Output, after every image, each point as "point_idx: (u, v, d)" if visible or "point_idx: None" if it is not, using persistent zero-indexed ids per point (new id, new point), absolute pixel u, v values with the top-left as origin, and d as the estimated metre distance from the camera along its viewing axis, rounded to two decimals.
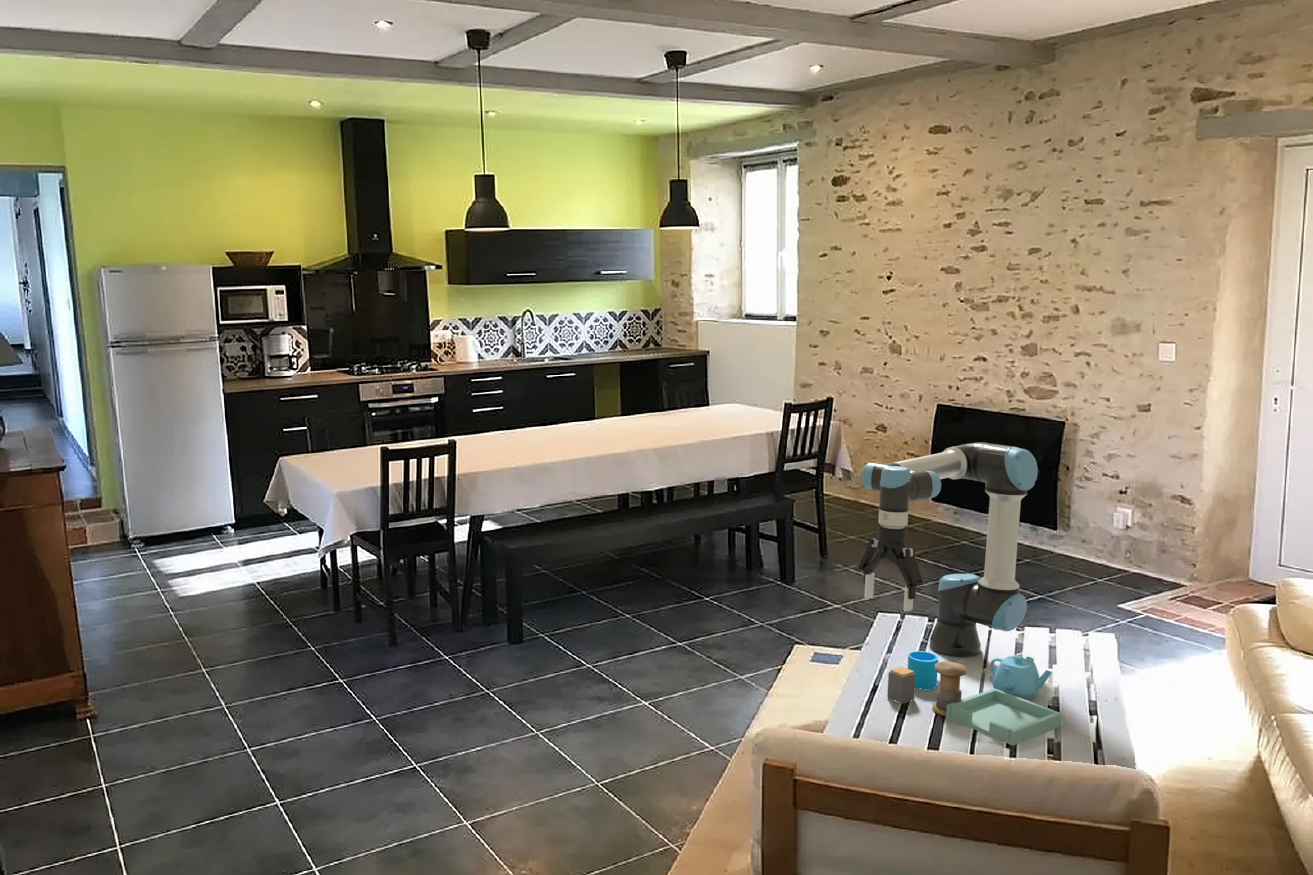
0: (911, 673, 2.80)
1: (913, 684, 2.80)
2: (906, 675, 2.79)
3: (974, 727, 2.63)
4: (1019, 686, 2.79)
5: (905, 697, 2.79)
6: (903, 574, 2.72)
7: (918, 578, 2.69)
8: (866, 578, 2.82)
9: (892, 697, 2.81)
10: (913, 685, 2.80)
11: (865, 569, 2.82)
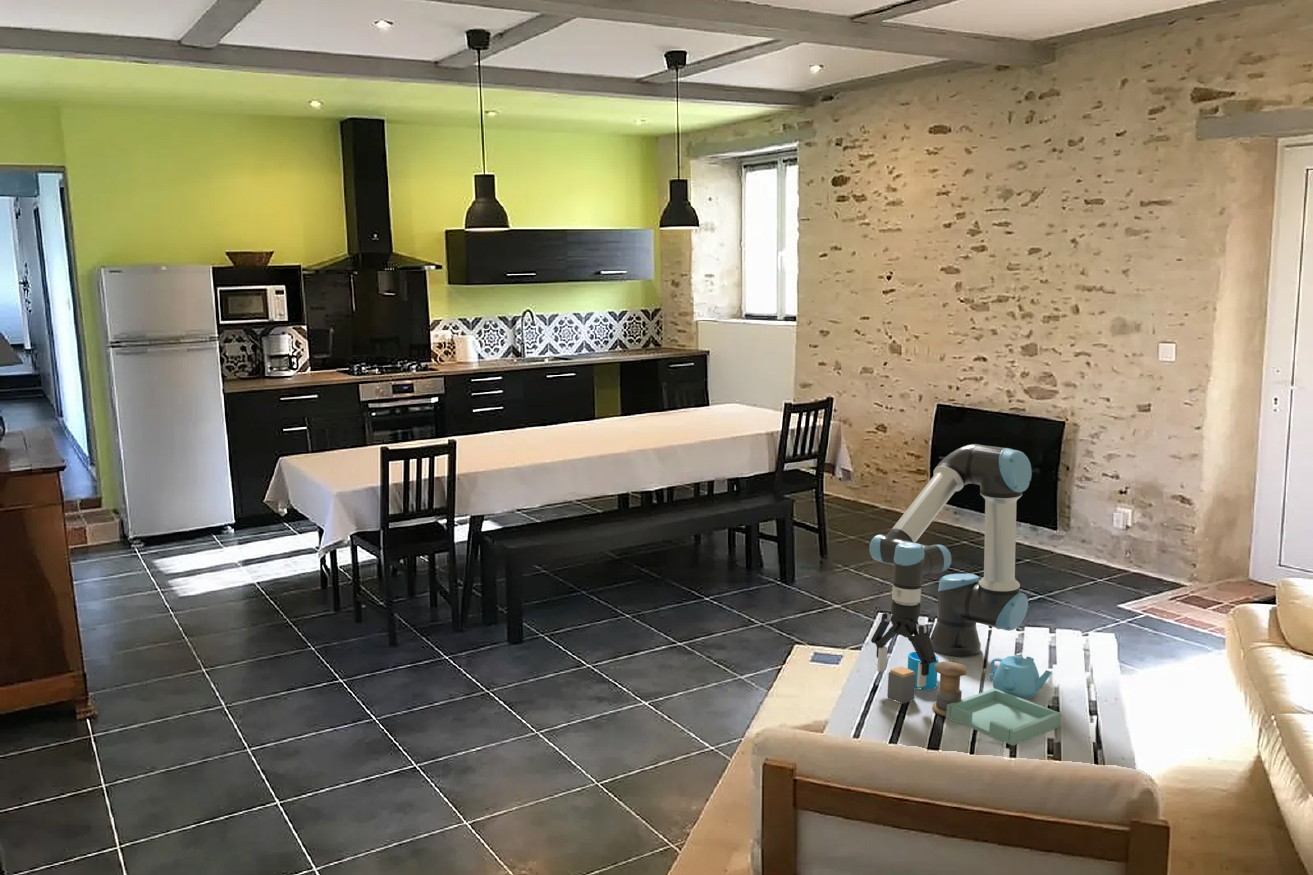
0: (911, 673, 2.80)
1: (913, 684, 2.80)
2: (906, 675, 2.79)
3: (974, 727, 2.63)
4: (1019, 686, 2.79)
5: (905, 697, 2.79)
6: (916, 650, 2.74)
7: (932, 655, 2.72)
8: (879, 652, 2.85)
9: (892, 697, 2.81)
10: (913, 685, 2.80)
11: (878, 643, 2.85)
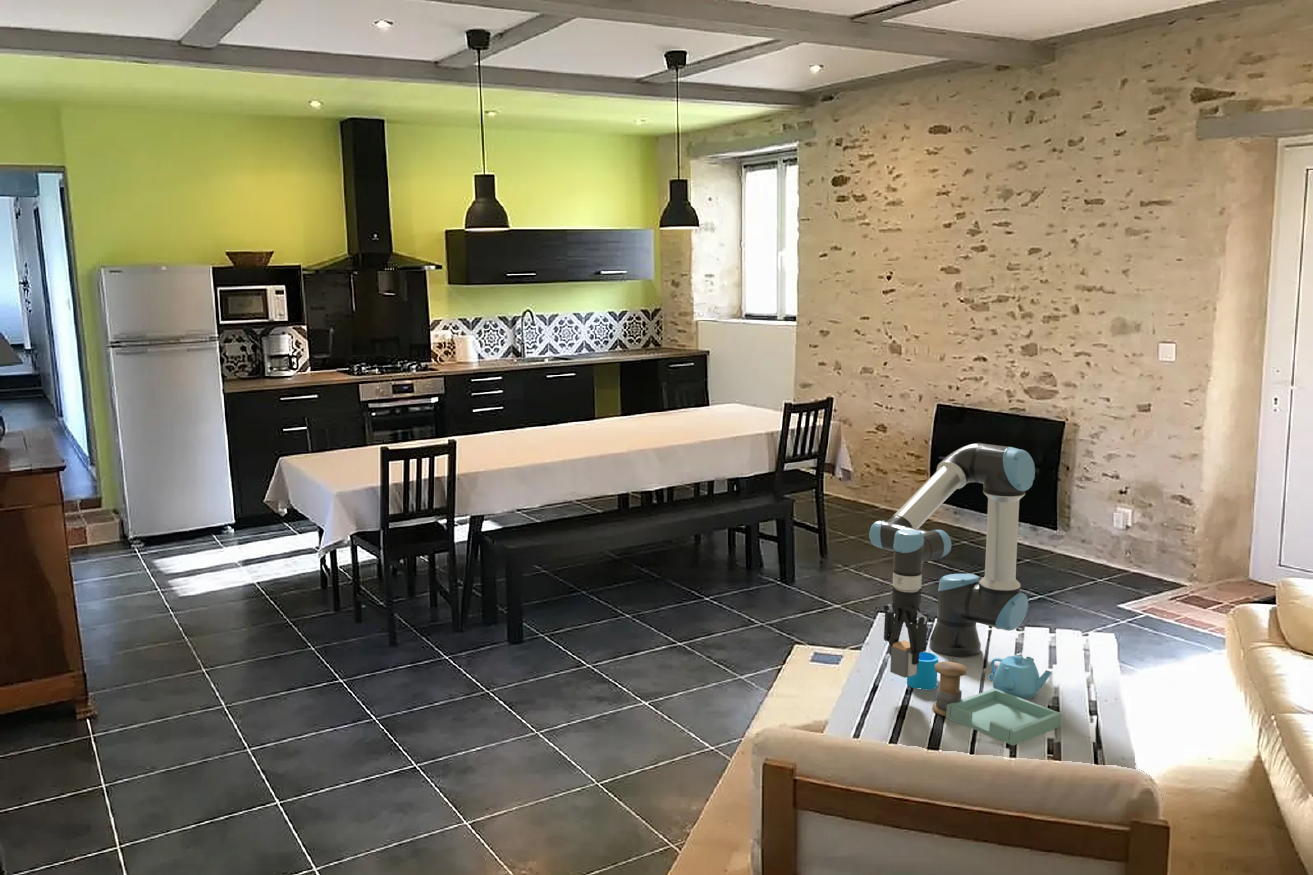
0: None
1: None
2: (909, 649, 2.78)
3: (974, 727, 2.63)
4: (1019, 686, 2.79)
5: None
6: (910, 639, 2.77)
7: (923, 645, 2.75)
8: None
9: (895, 671, 2.80)
10: None
11: (890, 640, 2.82)
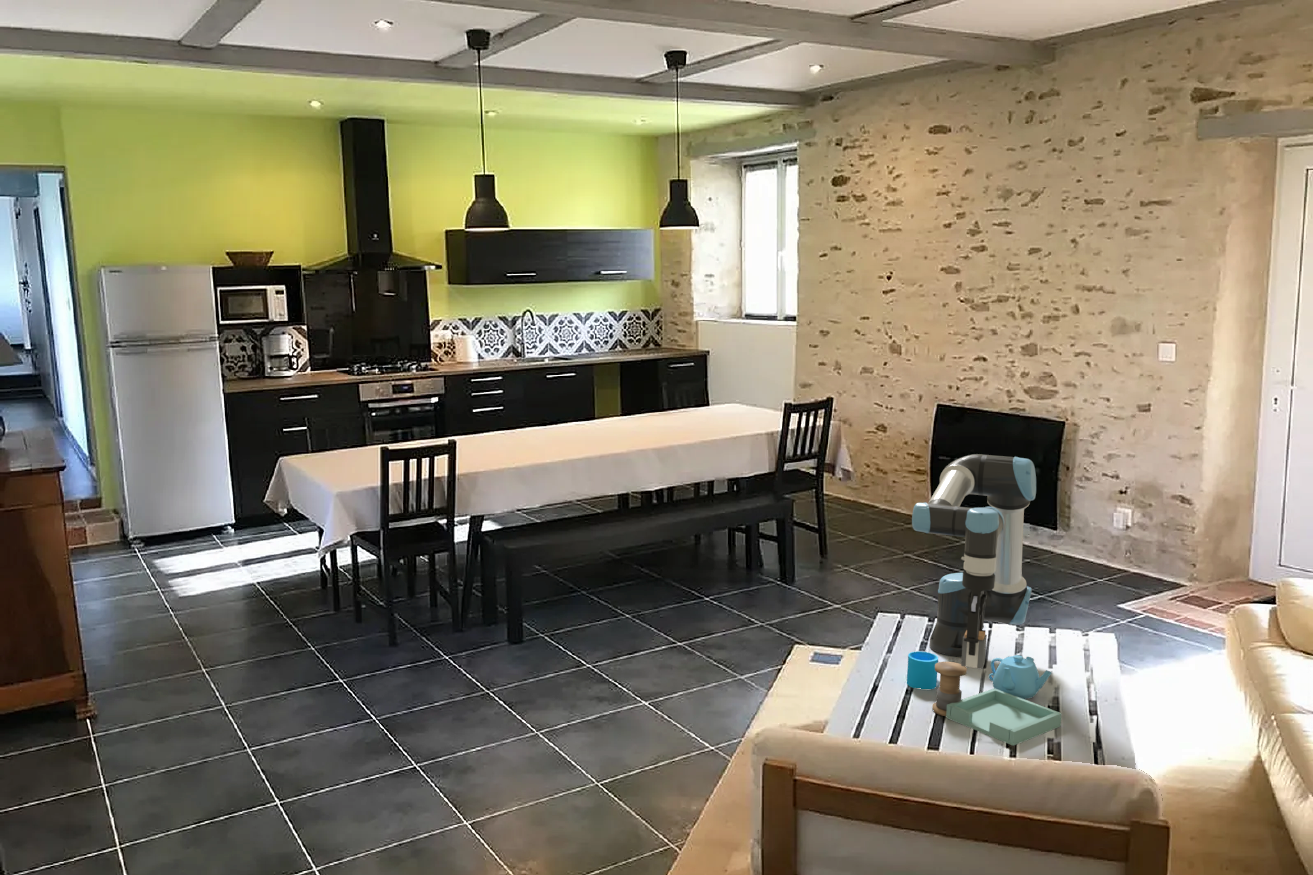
0: (978, 638, 2.55)
1: (980, 651, 2.55)
2: None
3: (974, 727, 2.63)
4: (1019, 686, 2.79)
5: None
6: None
7: (971, 635, 2.52)
8: None
9: None
10: (980, 652, 2.55)
11: None
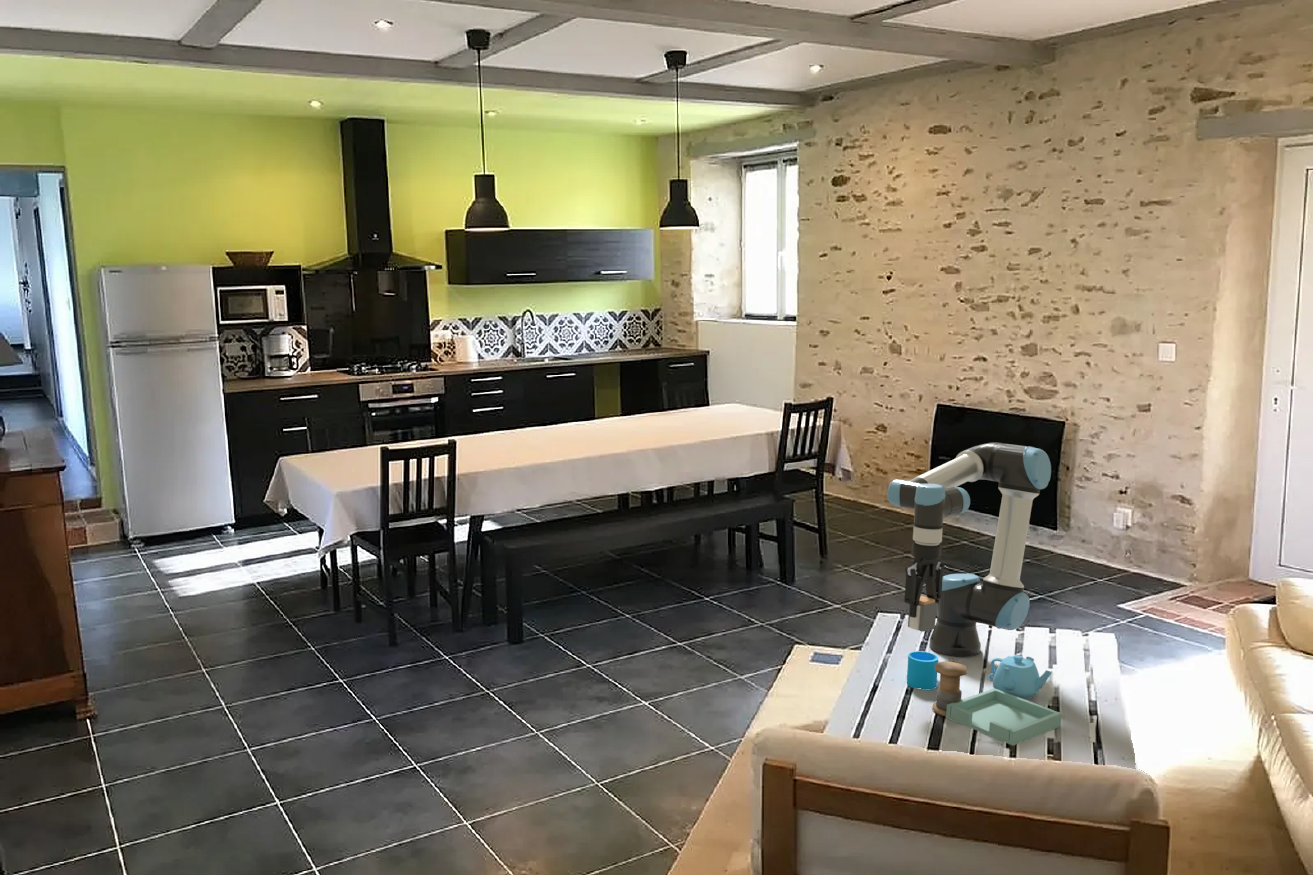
0: (921, 602, 2.78)
1: (921, 614, 2.78)
2: None
3: (974, 727, 2.63)
4: (1019, 686, 2.79)
5: None
6: None
7: (908, 597, 2.77)
8: None
9: None
10: (921, 615, 2.78)
11: None
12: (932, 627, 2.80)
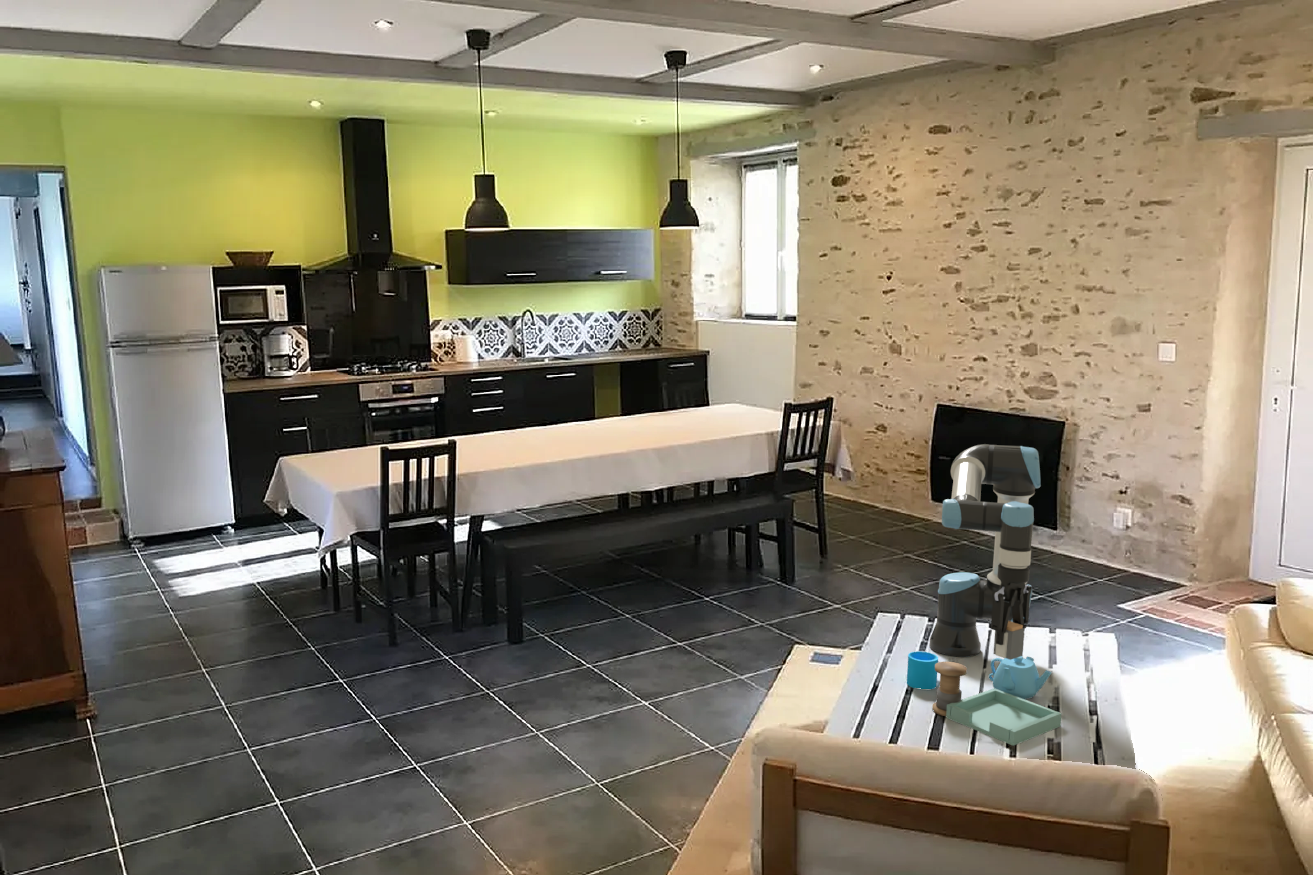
0: (1008, 628, 2.62)
1: (1009, 641, 2.62)
2: None
3: (974, 727, 2.63)
4: (1019, 686, 2.79)
5: None
6: None
7: (995, 623, 2.60)
8: None
9: None
10: (1009, 642, 2.62)
11: None
12: (1020, 654, 2.64)
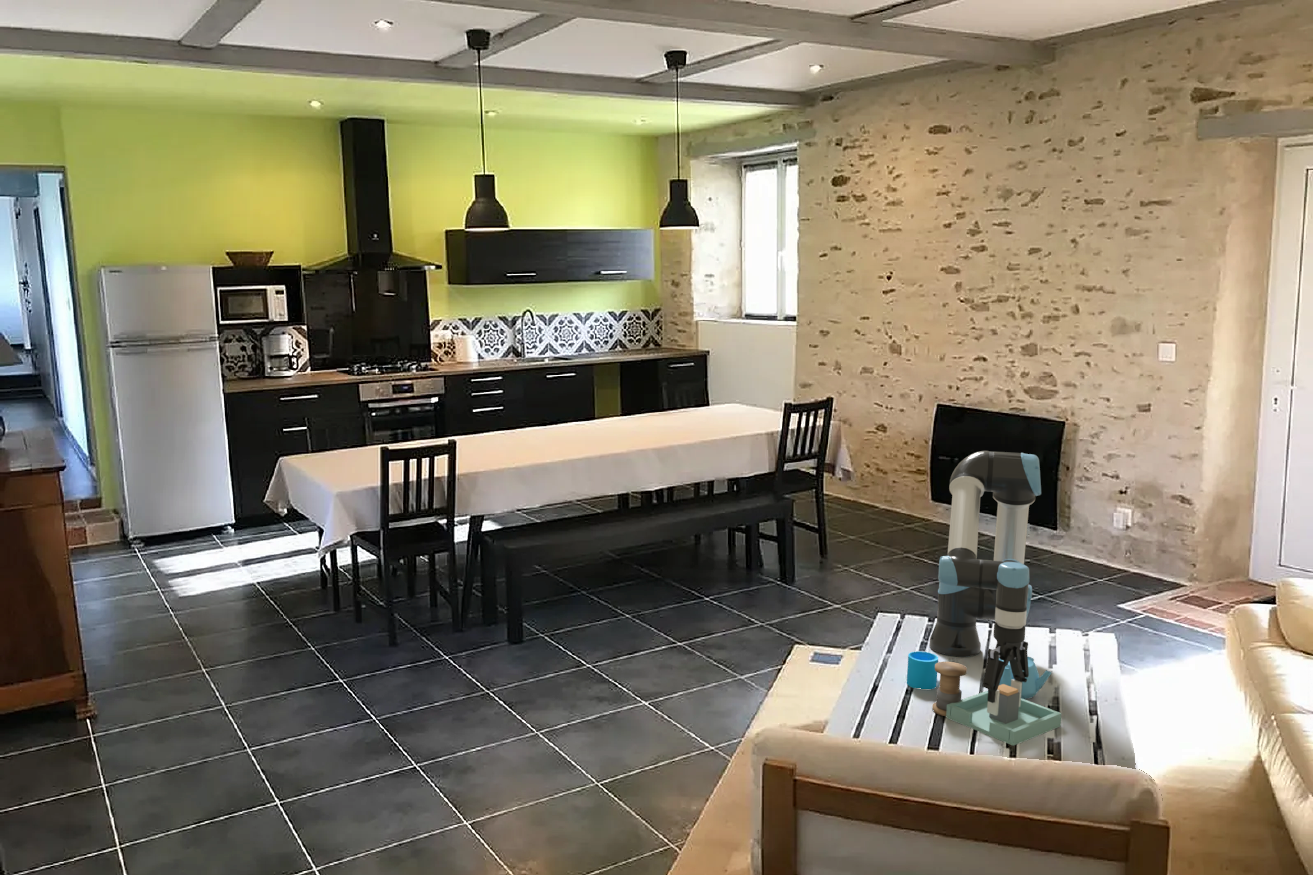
0: (1004, 693, 2.65)
1: (1005, 706, 2.64)
2: None
3: (974, 727, 2.63)
4: None
5: None
6: None
7: (987, 681, 2.62)
8: None
9: None
10: (1005, 707, 2.64)
11: None
12: (1015, 718, 2.67)
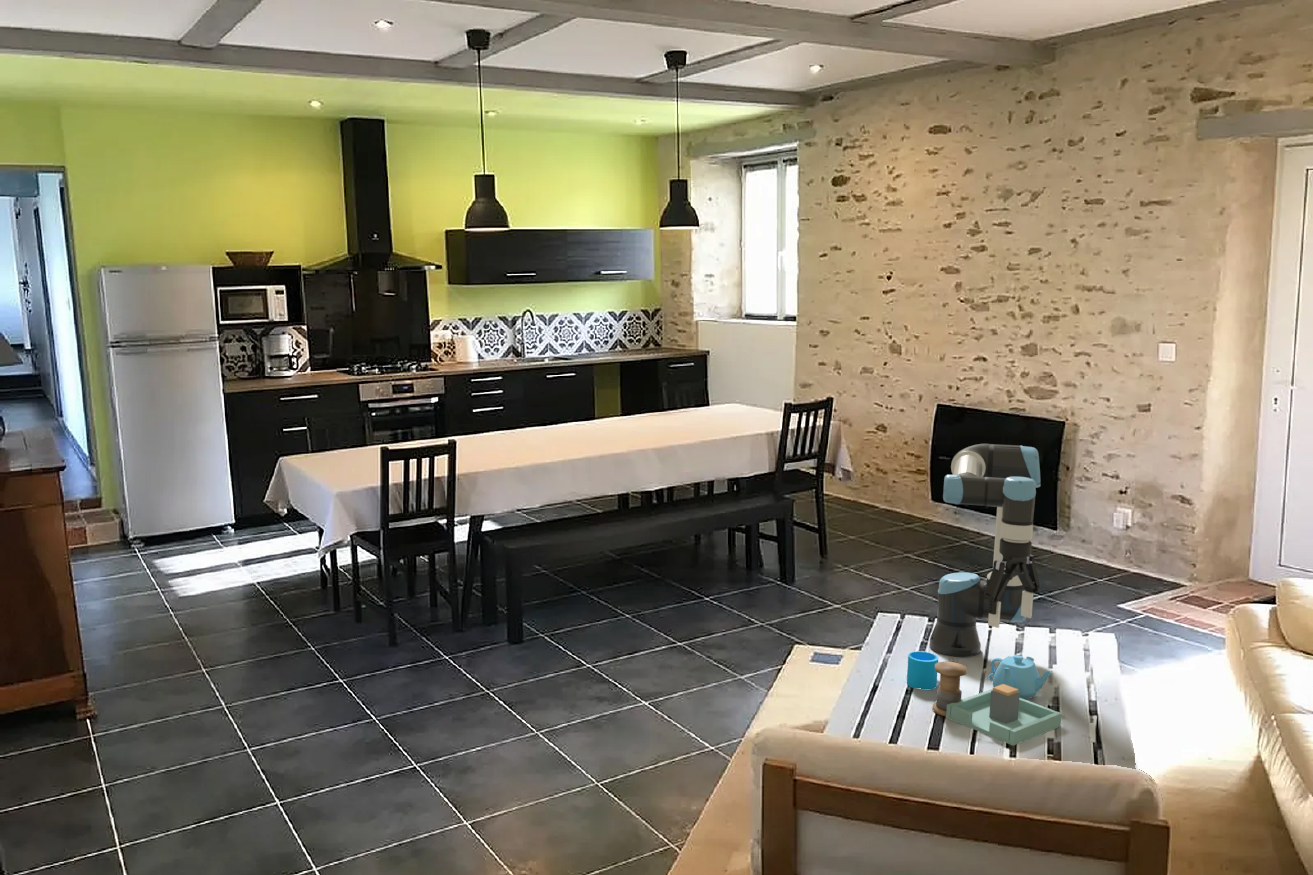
0: (1004, 693, 2.65)
1: (1005, 706, 2.64)
2: (997, 691, 2.66)
3: (974, 727, 2.63)
4: (1019, 686, 2.79)
5: (994, 713, 2.67)
6: None
7: (989, 592, 2.57)
8: None
9: None
10: (1005, 707, 2.64)
11: None
12: (1015, 718, 2.67)
